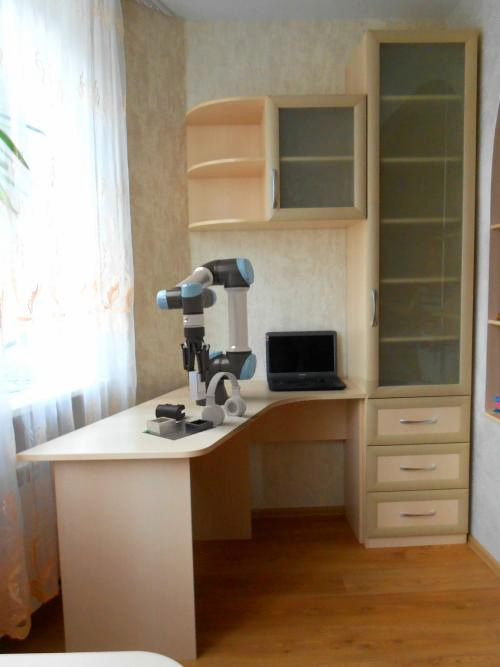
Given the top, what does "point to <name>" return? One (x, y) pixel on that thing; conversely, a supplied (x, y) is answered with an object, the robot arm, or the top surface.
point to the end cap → (170, 411)
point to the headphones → (232, 405)
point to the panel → (176, 427)
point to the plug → (195, 386)
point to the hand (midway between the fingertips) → (197, 390)
